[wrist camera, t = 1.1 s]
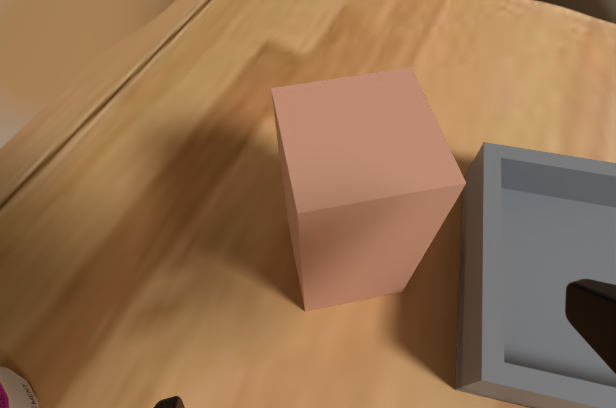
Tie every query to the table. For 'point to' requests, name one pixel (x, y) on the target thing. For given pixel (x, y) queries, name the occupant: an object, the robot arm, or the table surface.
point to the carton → (361, 183)
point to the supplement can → (15, 391)
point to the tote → (533, 276)
